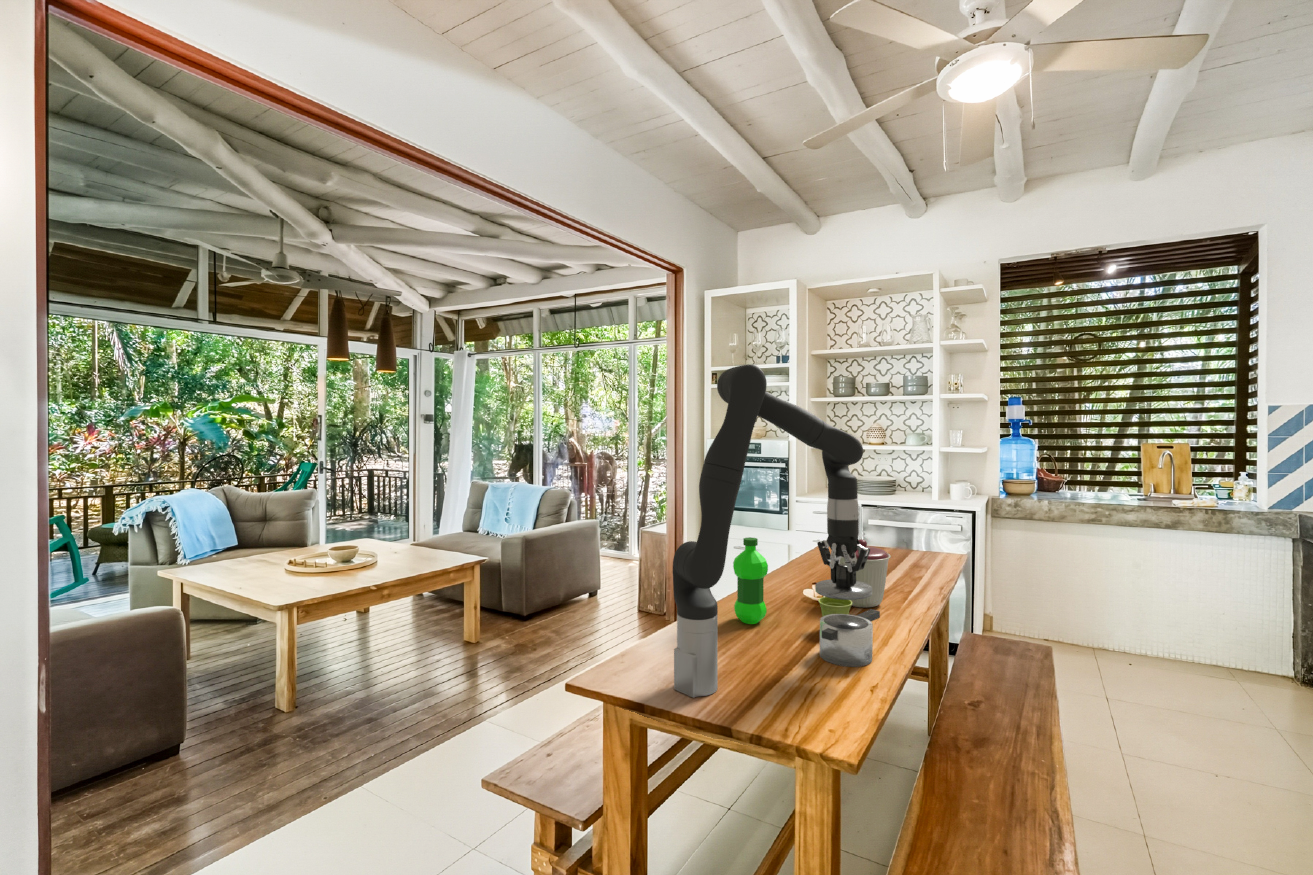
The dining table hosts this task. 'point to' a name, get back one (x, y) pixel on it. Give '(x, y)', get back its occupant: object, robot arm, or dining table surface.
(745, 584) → the plastic bottle
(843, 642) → the cooker pot
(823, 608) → the plant pot
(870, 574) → the canister
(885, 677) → the dining table surface
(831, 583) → the lid
